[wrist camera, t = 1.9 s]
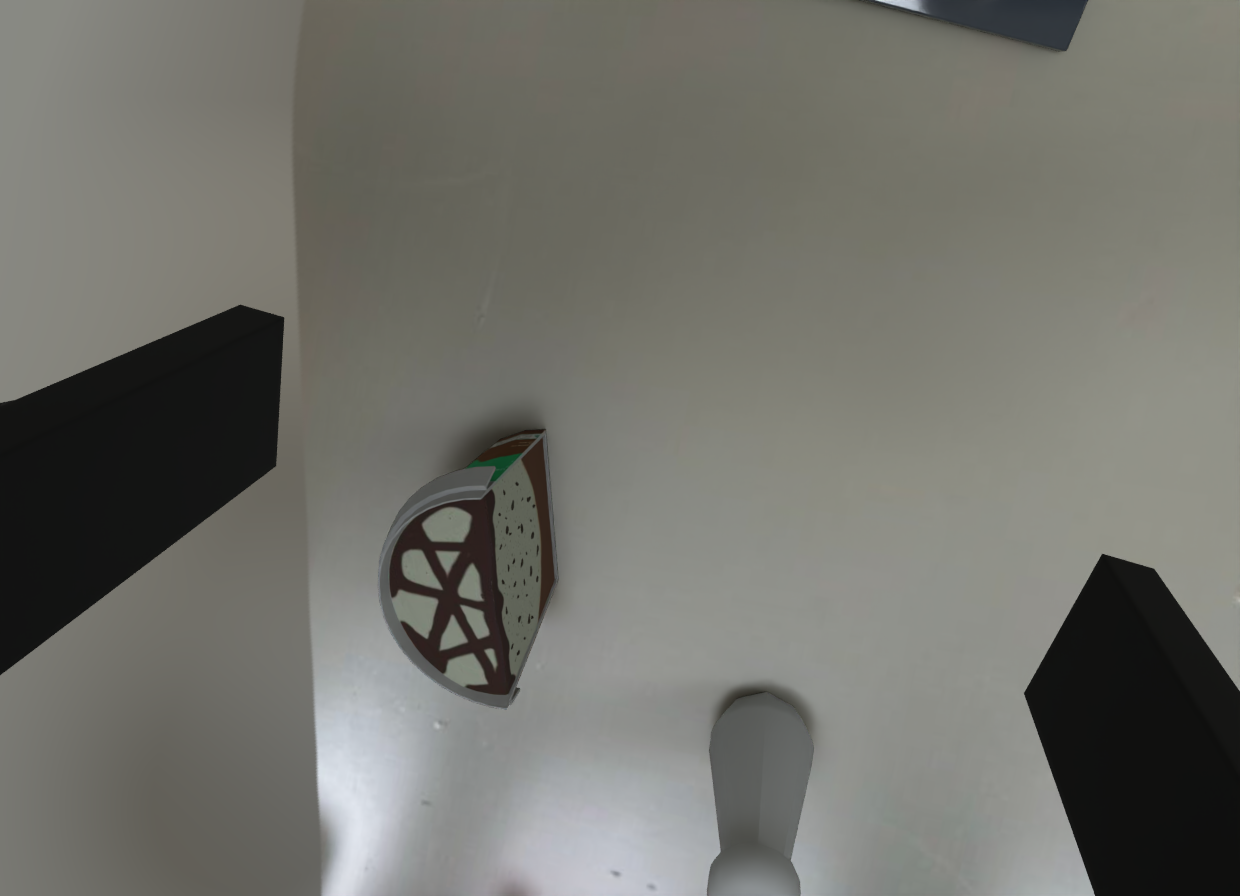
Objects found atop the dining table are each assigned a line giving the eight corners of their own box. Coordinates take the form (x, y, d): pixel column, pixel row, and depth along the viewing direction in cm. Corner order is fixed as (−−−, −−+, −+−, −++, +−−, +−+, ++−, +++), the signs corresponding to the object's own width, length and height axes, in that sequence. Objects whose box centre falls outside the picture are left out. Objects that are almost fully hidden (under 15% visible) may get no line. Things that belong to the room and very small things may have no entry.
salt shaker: (701, 738, 52) (672, 932, 41) (729, 667, 50) (707, 851, 38) (794, 770, 52) (792, 975, 40) (828, 700, 49) (836, 895, 38)
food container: (433, 400, 47) (344, 480, 38) (543, 402, 45) (479, 486, 36) (460, 594, 51) (387, 706, 42) (560, 601, 50) (507, 718, 41)
